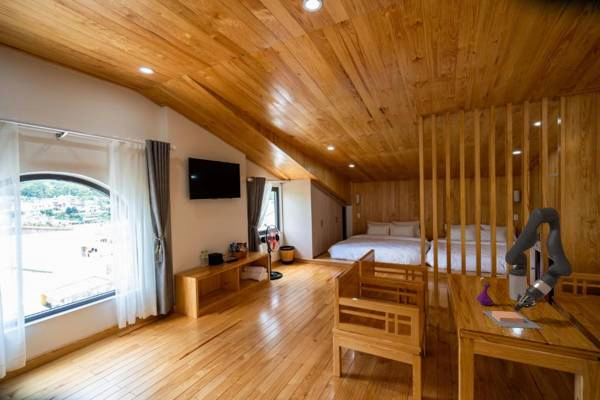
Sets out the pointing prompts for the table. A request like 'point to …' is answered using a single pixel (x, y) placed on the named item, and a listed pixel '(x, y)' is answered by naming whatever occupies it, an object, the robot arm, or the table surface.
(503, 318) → the tile
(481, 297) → the perfume bottle
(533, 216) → the robot arm
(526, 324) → the mat
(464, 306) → the table surface
